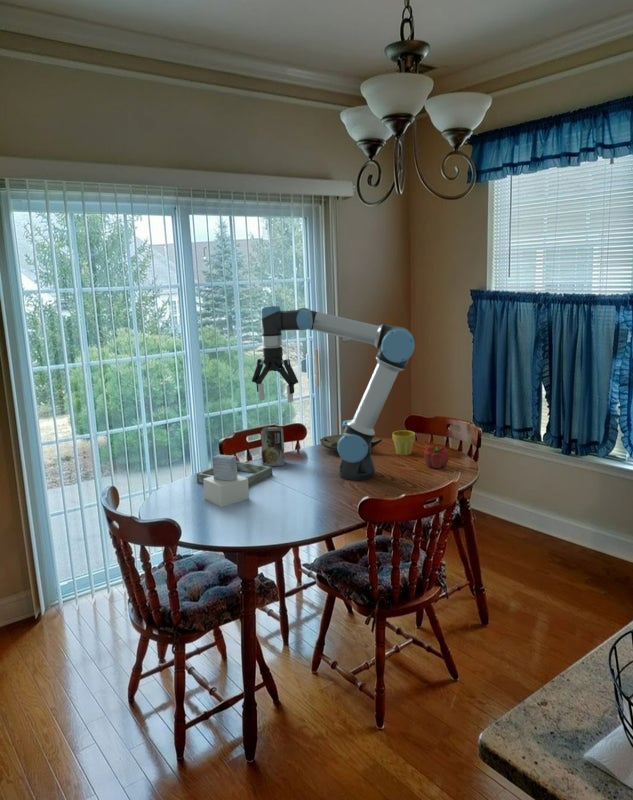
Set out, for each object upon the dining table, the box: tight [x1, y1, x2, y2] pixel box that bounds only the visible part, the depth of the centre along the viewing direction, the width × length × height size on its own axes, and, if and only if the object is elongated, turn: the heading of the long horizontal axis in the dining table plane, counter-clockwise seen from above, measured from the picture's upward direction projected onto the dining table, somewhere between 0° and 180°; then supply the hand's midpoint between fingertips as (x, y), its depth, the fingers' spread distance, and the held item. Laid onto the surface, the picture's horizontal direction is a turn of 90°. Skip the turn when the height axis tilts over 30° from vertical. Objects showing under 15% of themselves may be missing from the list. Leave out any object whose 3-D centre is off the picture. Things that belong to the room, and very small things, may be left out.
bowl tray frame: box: [196, 460, 273, 487], centre depth 249 cm, size 22×21×4 cm
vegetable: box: [423, 444, 450, 469], centre depth 255 cm, size 11×10×10 cm
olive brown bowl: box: [319, 434, 383, 453], centre depth 283 cm, size 22×30×8 cm
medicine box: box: [211, 454, 238, 481], centre depth 224 cm, size 8×4×9 cm, turn 69°
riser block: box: [202, 474, 250, 508], centre depth 226 cm, size 12×12×8 cm
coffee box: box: [260, 426, 286, 467], centre depth 267 cm, size 9×6×16 cm
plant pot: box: [391, 429, 416, 456], centre depth 277 cm, size 10×10×10 cm
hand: (276, 401), depth 235 cm, fingers open, 13 cm apart
